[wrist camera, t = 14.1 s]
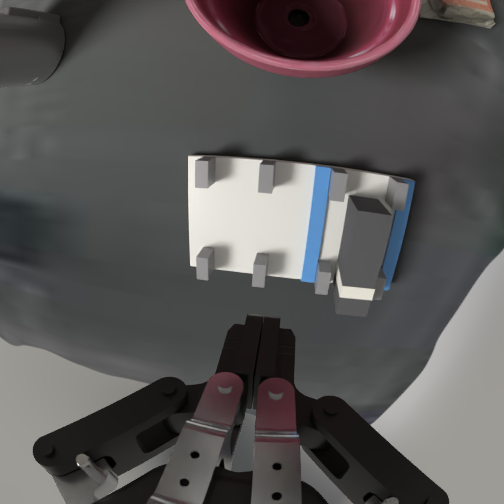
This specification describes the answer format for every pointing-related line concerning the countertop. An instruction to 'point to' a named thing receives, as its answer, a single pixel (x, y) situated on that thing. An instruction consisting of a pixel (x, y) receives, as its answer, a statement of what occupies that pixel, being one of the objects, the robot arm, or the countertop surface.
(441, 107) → the countertop surface
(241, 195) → the white pegged board
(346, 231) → the charcoal rectangular prism
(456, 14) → the packaged product
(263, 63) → the plant pot
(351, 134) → the countertop surface
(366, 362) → the countertop surface
